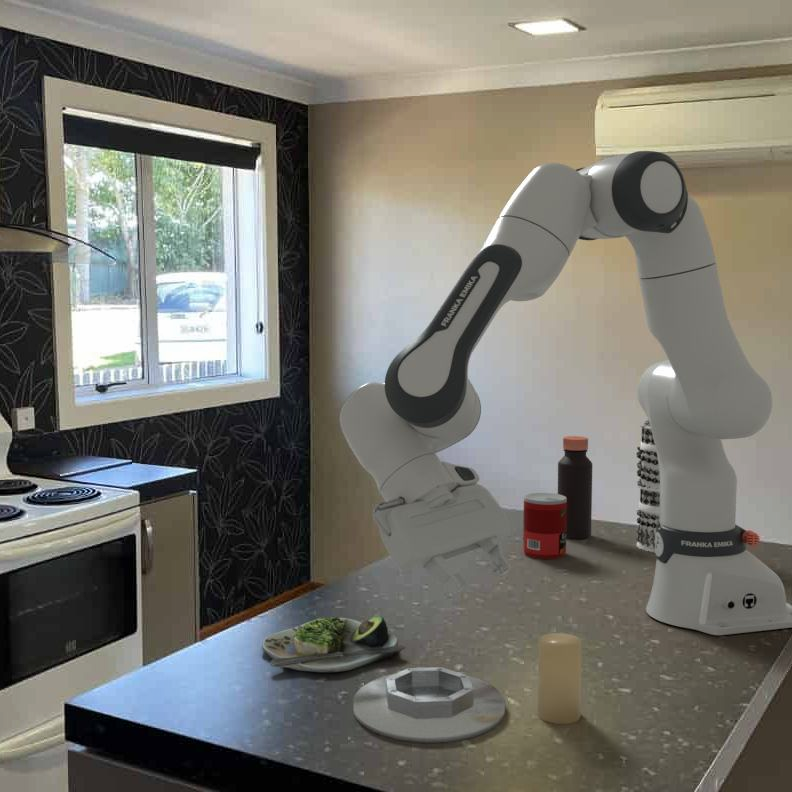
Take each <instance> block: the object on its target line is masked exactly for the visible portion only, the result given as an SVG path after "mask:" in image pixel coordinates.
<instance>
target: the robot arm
mask: <svg viewBox="0 0 792 792" xmlns="http://www.w3.org/2000/svg"><path fill="white" fill-rule="evenodd" d="M688 194H689V193H688V190H687V185H686V181H685V178H684V175H683V173H682V171H681V169H680V167H679V166H678V164H677V162H675V161H674V159H672V157H671V156H669V155H668V154H665V153H663V152H659V151H654V150H640V151H634V152H632V153H628V154H621V155H620V154H619V155H616V156H615V155H614V156H611V157H606V158H604V159H602V160H600V161H598V162H595V163H592V164H590V165H588V166H586V167H580V168H576V169H575V168H573V167H571V166H568V165H567V164H563V163H559V162H558V163H557V162H547V163H543V164H540V165H538V166H536V167H535V168H534V169H532V170H531V171H530V172H529V174H528V175H527V176H526V177H525V178H524V180H523V181H522V182H521V183H520V185H519V186H518V187H517V188H516V189H515V191H514V193H513V194H512V195H511V196H510V198H509V199H508V201H507V202H506V204H505V205H504V207H503V209H502V210H501V212H500V214H499V215H498V217H497V219H496V221H495V223H494V224H493V226H492V227H491V229H490V231H489V233H488V236H487V237H486V239H485V240H484V242H483V244H482V245H481V248H480V250H479V251H478V252H477V253H476V255H475V257H474V258H473V259H472V260H471V262H470V263H469V264H468V266H467V267H466V268H465V270H464V271H463V273H462V274H461V276H460V278H459V279H458V280H457V282H456V283H455V285H454V286H453V287H452V289H451V291H450V293H449V294H448V295H447V297H446V298H445V299H444V302H443V303H442V305H440V307H439V309H438V311H437V312H436V314H435V315H434V317H433V318H432V320H431V322H430V323H429V324H428V326H427V327H426V328H425V330H424V331H422V332H421V334H420V335H419V336H418V337H417V338H414V340H413V341H412V342H411V343H409V344H408V345H406V346H405V347H404V348H403V349H402V350H401V351H400V352H398V354H396V356H394V358H393V360H392V361H391V362H390V364H389V366H388V368H387V370H386V374H385V378H384V382H378V381H377V382H376V381H369V382H367V383H365V384H363V385H361V386H360V387H358V388H357V389H355V390H354V391H353V392H351V394H349V396H348V398H346V399H345V401H344V404H343V406H342V408H341V410H340V413H339V423H340V424H339V425H340V428H341V431H342V433H343V437H344V438H345V440H346V442H347V444H348V446H349V447H350V449H351V451H352V453H353V454H354V456H355V458H356V459H357V460H358V462H359V464H360V465H361V466H362V468H363V469H364V470H365V471H366V472H368V474H369V475H371V476H372V478H373V479H374V481H375V484H376V486H377V489H378V492H379V493H380V495H381V496H382V498H383V499H384V501H381V502H379V503H376V504H375V505H374V508H373V510H372V518H373V521H374V522H375V524H376V526H377V527H378V531H379V535H380V537H381V540H382V542H383V544H384V546H385V548H386V550H387V552H388V554H389V556H390V558H391V560H392V561H393V563H394V564H395V566H396V567H397V568H398V569H399V570H401V571H402V572H403V573H405V574H409V573H412V572H416V571H418V570H421V569H425V570H426V572H427V574H428V575H429V576H430V577H432V578H433V579H435V580H437V581H438V582H439V583H441V584H443V585H444V587H445V588H446V590H447V591H448V592H449V593H448V594H451V595H454V594H457V593H459V592H461V591H462V590H463V589H465V588H466V586H467V584H466V581H465V580H464V579H463V576H462V575H461V573H460V572H457V573H455V572H453V570H451V569H450V568H449V567H447V566H446V565H445V563H446V561H448V560H451V559H454V558H456V557H460V556H462V555H465V554H467V553H468V554H469V553H471V552H474V551H476V550H479V549H481V550H482V551H483V552H484V554H485V555H489V558H490V562H491V564H490V565H489V568H490V570H491V571H492V572H493V574H494V575H495V577H498V578H499V577H500V576H504V575H506V574H507V573H508V572H509V571H510V570H511V564H510V563H509V562H508V560H507V559H506V558H505V553H504V549H503V548H504V547H503V544H502V541H501V540H502V539H503V538H504V537H505V536H506V535H507V534H509V532H510V530H511V523H510V519H509V517H508V516H507V514H506V513H505V511H504V510H503V508H502V507H501V506H500V504H499V503H498V502H497V500H496V499H495V497H494V496H493V495H492V494H491V492H490V491H489V490H488V489H487V488H486V487H484V486H483V485H481V484H478V482H479V481H480V476H479V474H478V473H477V471H476V470H475V469H474V468H472V467H469V466H462V465H458V464H452V463H450V462H448V461H441V460H440V458H439V456H438V455H437V453H439V452H441V451H443V450H446V449H448V448H449V447H452V446H454V445H455V444H457V443H459V442H461V441H462V440H464V439H465V438H467V437H469V436H470V435H471V434H472V433H473V432H474V430H475V429H476V427H477V426H478V424H479V421H480V418H481V413H482V404H481V400H480V397H479V395H478V393H477V391H476V389H475V387H474V385H473V384H472V381H471V380H470V379H469V375H468V374H469V362H470V360H471V356H472V354H473V352H474V351H475V349H476V348H477V346H478V344H479V342H480V341H481V339H482V337H483V336H484V334H485V333H486V331H487V330H488V328H489V327H490V325H491V324H492V321H493V320H494V319H495V317H496V315H497V313H498V312H499V311H500V309H501V308H502V307H503V306H504V305H505V304H507V303H508V302H510V301H511V302H512V301H513V302H528V301H533V300H537V299H538V298H540V297H542V296H544V295H545V293H546V292H547V291H548V290H549V288H551V286H552V285H553V284H554V283H555V281H556V280H557V278H558V277H559V276H560V274H561V272H562V270H563V269H564V267H565V265H566V264H567V261H569V260H568V259H569V258H570V256H571V253H572V252H573V250H574V248H575V246H576V244H577V241H578V240H583V241H595V240H599V239H600V240H606V239H607V240H609V239H619V238H624V237H625V238H626V239H627V240H628V242H630V245H631V246H632V248H633V250H634V254H635V263H636V269H637V276H638V277H637V278H638V281H639V286H640V290H641V296H642V302H643V307H644V313H645V317H646V322H647V326H648V328H649V331H650V333H651V335H652V336H653V337H654V338H655V339H656V340H657V342H658V343H659V345H660V346H661V347H662V349H663V352H664V353H665V355H666V357H667V359H664V360H662V361H658V362H655V363H653V364H652V365H650V366H649V367H648V368H646V369H645V370H644V372H643V373H642V375H641V377H640V378H639V381H638V384H637V385H638V386H637V398H638V402H639V405H640V406H641V408H642V410H643V412H644V413H645V415H646V416H647V419H649V422H650V426H651V430H652V434H653V438H654V443H655V447H656V452H657V457H658V463H659V472H660V513H659V520H658V521H657V523H656V533H655V552H654V553H655V558H656V563H655V572H654V577H653V582H652V588H651V591H650V593H649V599H648V602H647V604H646V607H645V611H646V613H647V614H648V615H649V616H650V617H652V618H653V619H655V620H657V621H659V622H662V623H665V624H668V625H671V626H676V627H680V628H685V629H691V630H695V631H699V632H703V633H705V634H708V635H713V636H725V635H735V634H742V633H743V634H744V633H745V634H746V633H754V632H762V631H771V630H779V629H788V628H792V605H791V604H790V603H788V602H787V597H786V591H785V586H784V583H783V582H782V579H781V578H780V577H779V576H778V574H777V573H776V572H774V571H773V569H771V568H770V567H768V566H767V565H766V564H765V563H764V562H763V561H761V560H760V559H759V558H758V557H756V556H755V555H754V554H752V553H751V552H750V551H748V549H747V547H746V546H747V545H748V546H750V547H756V546H758V545H759V544H760V541H761V536H760V535H759V534H758V533H757V532H754V531H753V530H750V529H749V530H746V529H744V528H743V527H740V526H739V525H737V524H736V514H737V513H736V511H737V509H736V508H737V490H738V489H737V486H738V485H737V484H738V479H737V474H736V471H735V469H734V467H733V466H732V464H731V463H730V461H729V459H728V457H727V455H726V452H725V448H724V445H723V442H722V440H736V439H745V438H750V437H751V436H754V435H755V434H757V433H758V432H760V431H761V430H762V429H763V428H764V427H765V426H766V424H767V422H768V421H769V418H770V416H771V413H772V411H773V410H772V408H773V396H772V391H771V389H770V387H769V385H768V383H767V382H766V380H764V378H762V376H760V374H759V373H757V371H756V370H755V369H754V368H753V366H752V364H751V363H750V362H749V360H748V358H747V357H746V355H745V353H744V350H743V349H742V347H741V345H740V343H739V340H738V339H737V336H736V334H735V332H734V330H733V327H732V326H731V323H730V320H729V317H728V314H727V310H726V306H725V302H724V299H723V298H724V297H723V292H722V288H721V282H720V275H719V271H718V267H717V261H716V256H715V251H714V247H713V243H712V239H711V236H710V232H709V228H708V226H707V223H706V220H705V218H704V214H703V213H702V210H701V208H700V206H699V204H698V202H697V201H696V200H695V199H694V198H693V197H691V196H689V195H688Z"/></svg>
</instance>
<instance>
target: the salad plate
mask: <svg viewBox="0 0 792 792" xmlns="http://www.w3.org/2000/svg"><path fill="white" fill-rule="evenodd" d="M388 631H389V630H388V626H387V622H386V620H385V618H384V617H383V616H381V615H374V616H373V617H370V618H367V620H365V621H362V622H360V621H359V620H355V619H351V618H347V617H338V616H336V617H333V616H331V617H321V618H316V619H312V620H311V621H307V622H306V623H303V624H300V625H297V626H295V627H291V628H289V629H283V630H281V631H278V632H274V633H272V634H269V635H267V636H266V637H265V638H264V639H263V641H262V645H261V649H262V651H263V652H264V653H265V654H266V655H268V657H269V658H270V659H271V660H270V662H269V663H270V664H269V665H270V666H271V667H272V668H273V667H274V668H287V669H291V670H295V671H298V672H299V671H300V672H310V673H313V672H314V673H341V672H347V671H351V670H354V669H357V668H360V667H363V666H367V665H369V664H373V663H375V662H379V661H381V660H385V659H386V658H388V657H390V656H392V655H394V654H396V653H398V652H401V651H402V650H404V649H406V648H407V646H405V645H402V644H401V645H399V640H398V638H397V636H396V635H395V634H391V632H388ZM293 643H294V645H293V646H294V650H295V652H296V653H295V654H289V653H286V650H287V648H288V647H289V646H290V645H292V644H293Z"/></svg>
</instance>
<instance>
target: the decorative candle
mask: <svg viewBox="0 0 792 792" xmlns="http://www.w3.org/2000/svg"><path fill="white" fill-rule="evenodd" d="M640 428H641V440H640V446H637V447H636V449H637V451H636V458H637V459H639V461H638V462H637V463H636V466H637V468H638V469H637V471H636V476H637V477H639V479H638V480H637V481H636V483H637V488H638V489H639V492H640V493H639V501H638V504H639V505H638V510H636V515H637V516H638V517H637V519H636V523H637V524H638V526H636V528H635V529H636V533H637V534H636V536H635V537H636V538H635V539H636V541H637V542H636V548H637V547H638V549H640V550H641V549H642V551H644V550H645V552H648V551H649V552H650V553H655V533H656V523H657V521H658V520H659V513H660V472H659V463H658V457H657V452H656V447H655V443H654V438H653V434H652V430H651V426H650V422H649V419H648V418H647V419H646V420H645V422H644V423H643V424H642V425H640Z"/></svg>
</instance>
